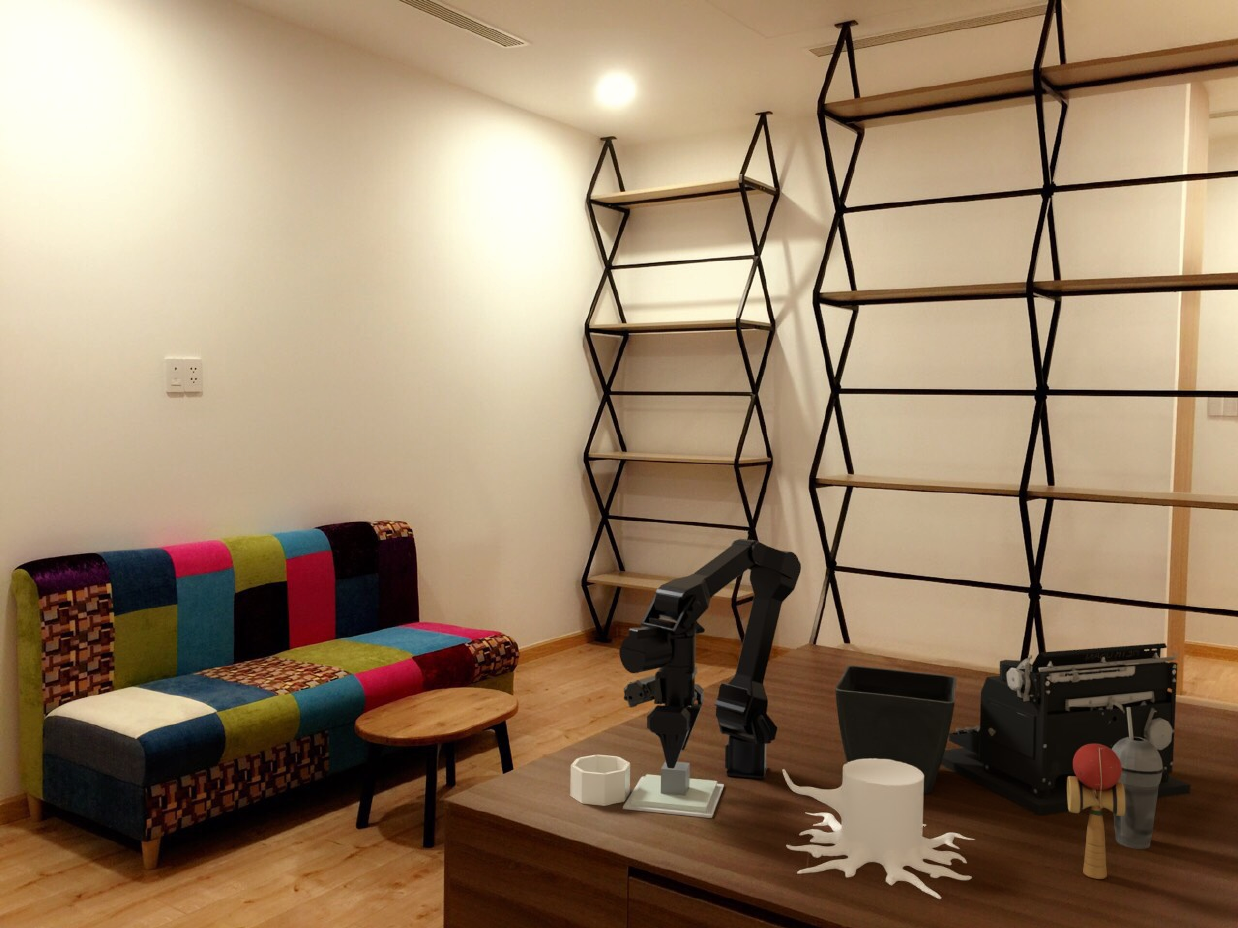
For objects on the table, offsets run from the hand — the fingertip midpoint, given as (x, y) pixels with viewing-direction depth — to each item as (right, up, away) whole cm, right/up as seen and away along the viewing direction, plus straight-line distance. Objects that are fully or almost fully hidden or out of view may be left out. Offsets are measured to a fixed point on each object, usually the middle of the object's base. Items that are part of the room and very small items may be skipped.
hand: (676, 758), depth 164 cm
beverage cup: (+66, -8, -16) cm, 68 cm away
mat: (0, -6, 0) cm, 6 cm away
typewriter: (+66, -7, +12) cm, 68 cm away
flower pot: (+38, -7, +11) cm, 40 cm away
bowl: (-12, -6, +1) cm, 14 cm away
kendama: (+55, -8, -26) cm, 62 cm away
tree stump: (+28, -8, -17) cm, 34 cm away
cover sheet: (0, -6, 0) cm, 6 cm away
